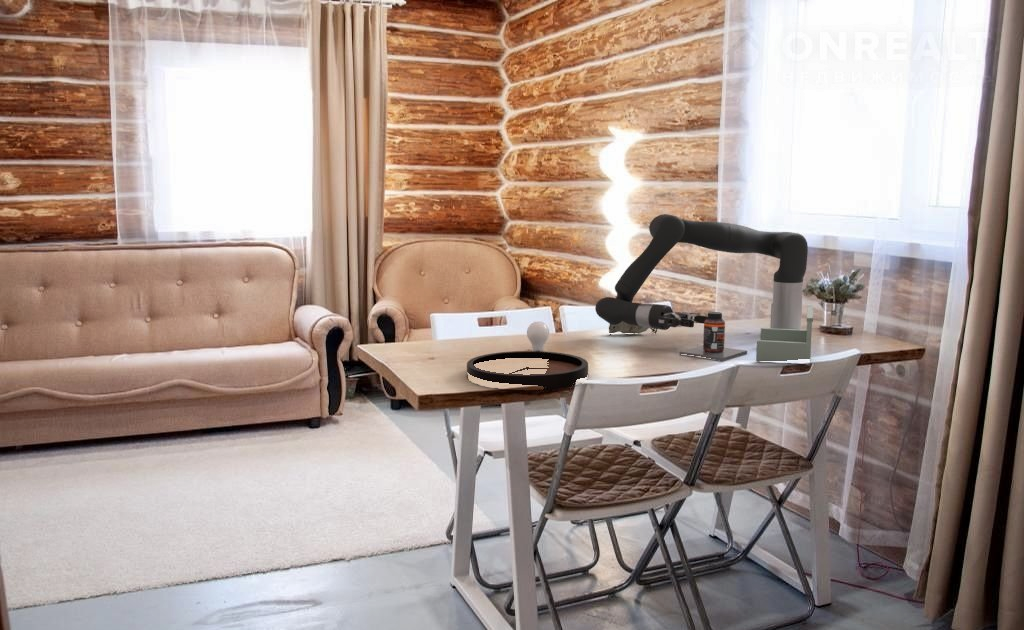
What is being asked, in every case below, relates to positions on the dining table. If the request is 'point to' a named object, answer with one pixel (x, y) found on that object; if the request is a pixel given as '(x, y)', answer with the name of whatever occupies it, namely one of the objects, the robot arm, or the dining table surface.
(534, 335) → the lightbulb
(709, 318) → the supplement bottle
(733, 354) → the slate tile
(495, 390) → the dining table surface
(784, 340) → the sage green open tray
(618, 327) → the decorative bird
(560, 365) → the wall clock
